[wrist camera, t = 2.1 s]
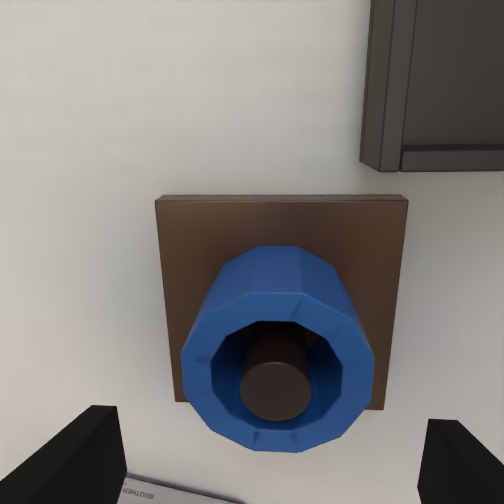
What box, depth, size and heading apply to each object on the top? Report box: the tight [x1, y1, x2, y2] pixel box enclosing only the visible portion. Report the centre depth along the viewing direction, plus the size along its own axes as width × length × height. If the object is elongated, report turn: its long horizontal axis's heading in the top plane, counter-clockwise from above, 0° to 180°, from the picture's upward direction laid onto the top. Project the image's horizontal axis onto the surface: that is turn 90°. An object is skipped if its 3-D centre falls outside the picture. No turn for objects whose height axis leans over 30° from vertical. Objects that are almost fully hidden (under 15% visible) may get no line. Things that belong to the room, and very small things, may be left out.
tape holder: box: [155, 195, 408, 421], centre depth 13 cm, size 9×9×6 cm
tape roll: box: [180, 246, 375, 453], centre depth 13 cm, size 6×6×4 cm
